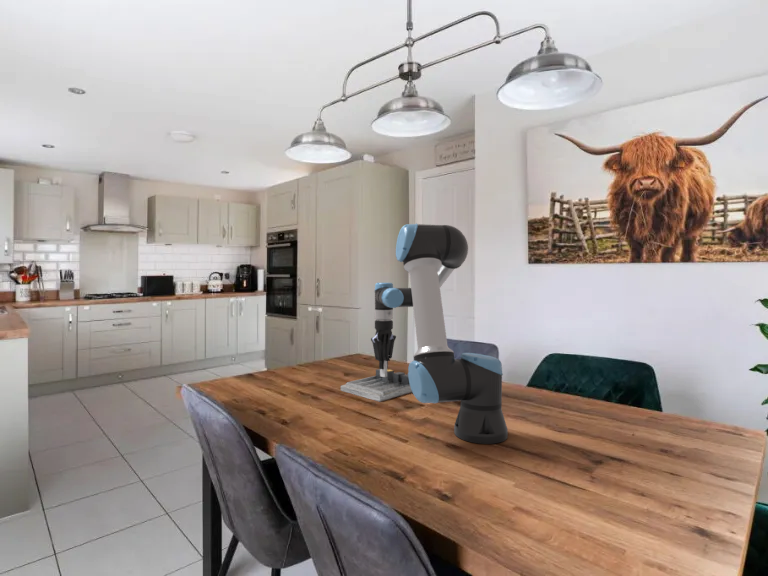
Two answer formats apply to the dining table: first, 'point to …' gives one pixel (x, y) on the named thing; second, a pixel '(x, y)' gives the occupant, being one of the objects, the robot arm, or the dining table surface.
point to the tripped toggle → (388, 375)
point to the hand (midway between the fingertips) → (383, 376)
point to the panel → (379, 387)
